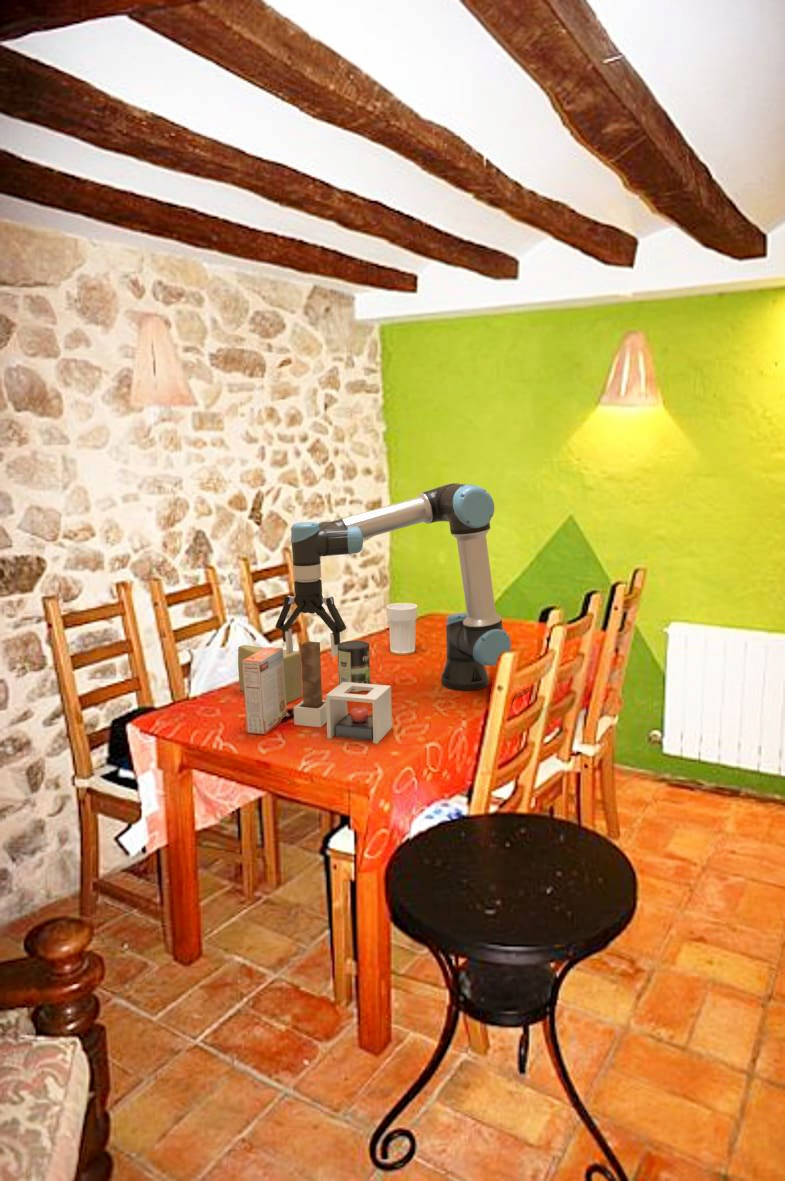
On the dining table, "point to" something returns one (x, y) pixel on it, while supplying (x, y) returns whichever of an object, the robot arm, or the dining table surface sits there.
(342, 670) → the coffee can
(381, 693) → the guard
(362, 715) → the red round piece
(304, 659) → the brown wooden dowel
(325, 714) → the holder
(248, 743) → the dining table surface
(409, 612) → the cup
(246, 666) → the cracker box
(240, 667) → the beige block
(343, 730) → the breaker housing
